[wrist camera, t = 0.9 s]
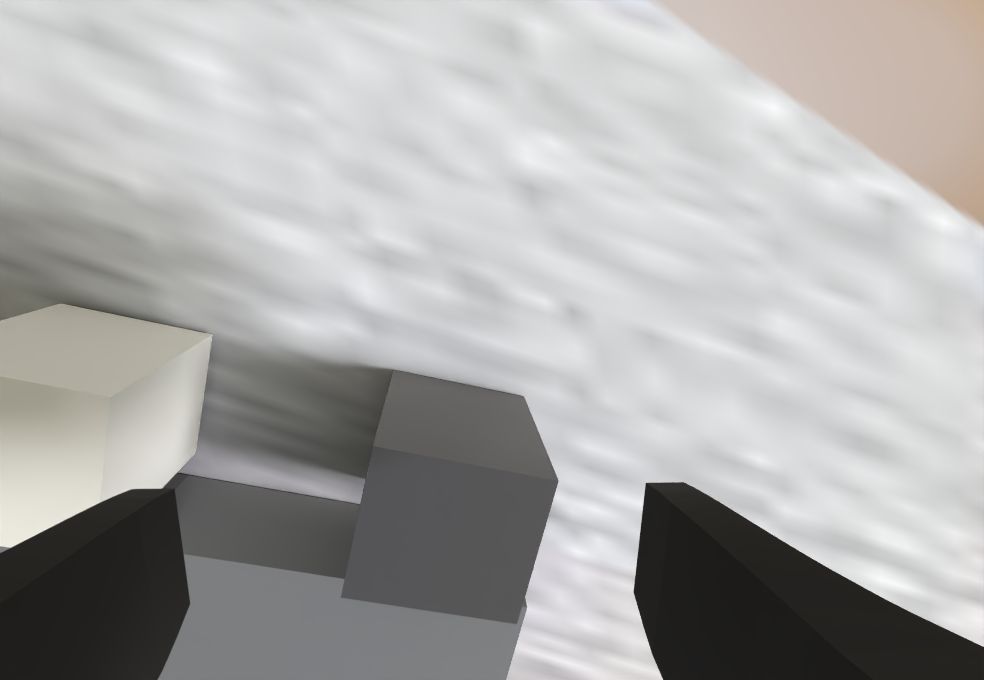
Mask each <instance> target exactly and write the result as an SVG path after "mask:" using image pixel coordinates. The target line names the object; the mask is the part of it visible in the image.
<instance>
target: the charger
mask: <svg viewBox="0 0 984 680" xmlns="http://www.w3.org/2000/svg"><path fill="white" fill-rule="evenodd" d="M212 336H213V335H212V334H207V333H202V332H197V331H192V330H187V329H183V328H178V327H173V326H168V325H163V324H158V323H153V322H148V321H144V320H139V319H134V318H129V317H124V316H119V315H114V314H109V313H105V312H100V311H95V310H90V309H85V308H80V307H75V306H70V305H66V304H61V303H60V304H57V305H53V306H50V307H46V308H43V309H39V310H36V311H32V312H29V313H25V314H22V315H18V316H15V317H11V318H8V319H4V320H0V546H2V547H9V548H11V547H13V546H15V545H17V544H19V543H21V542H23V541H25V540H27V539H29V538H31V537H33V536H35V535H37V534H39V533H41V532H43V531H44V530H46V529H48V528H50V527H52V526H54V525H56V524H58V523H60V522H62V521H64V520H66V519H68V518H70V517H72V516H74V515H76V514H78V513H80V512H82V511H84V510H86V509H88V508H90V507H92V506H94V505H96V504H98V503H100V502H102V501H105V500H107V499H109V498H111V497H113V496H116V495H118V494H121V493H123V492H126V491H128V490H131V489H162V488H163V487H164V486H165V485H166V484H167V483H168V482H169V480H170V479H171V478H172V477H173V476H174V475H175V474H176V473H177V472H178V471H179V470H180V469H181V468H182V467H183V466H184V465H185V464H186V463H187V462H188V460H189V459H190V458H191V457H192V456H193V455H194V454H195V453H196V449H197V442H198V435H199V428H200V421H201V414H202V407H203V400H204V393H205V386H206V379H207V372H208V365H209V358H210V351H211V343H212Z"/></svg>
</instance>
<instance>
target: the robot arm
mask: <svg viewBox="0 0 984 680" xmlns="http://www.w3.org/2000/svg"><path fill="white" fill-rule="evenodd" d="M634 595H635V598H636V602H637V605H638V609H639V612H640V616H641V619H642V623H643V626H644V629H645V633H646V636H647V639H648V642H649V645H650V648H651V652H652V654H653V657H654V659H655V662H656V664H657V666H658V669H659V671H660V673H661V676H662V678H663V680H984V647H983V646H980V645H978V644H976V643H974V642H972V641H970V640H968V639H965V638H963V637H961V636H959V635H957V634H955V633H953V632H951V631H949V630H947V629H944V628H942V627H940V626H938V625H936V624H934V623H932V622H930V621H928V620H926V619H923V618H921V617H919V616H917V615H915V614H913V613H911V612H909V611H907V610H905V609H903V608H901V607H899V606H897V605H895V604H893V603H891V602H889V601H887V600H885V599H884V598H882V597H880V596H878V595H876V594H874V593H872V592H871V591H869V590H867V589H865V588H863V587H862V586H860V585H858V584H856V583H854V582H852V581H851V580H849V579H847V578H845V577H843V576H841V575H840V574H838V573H836V572H834V571H832V570H831V569H829V568H827V567H825V566H824V565H822V564H820V563H819V562H817V561H815V560H813V559H812V558H810V557H808V556H806V555H805V554H803V553H801V552H800V551H798V550H796V549H795V548H793V547H791V546H790V545H788V544H786V543H785V542H783V541H781V540H780V539H778V538H777V537H775V536H773V535H772V534H770V533H768V532H767V531H765V530H764V529H762V528H760V527H759V526H757V525H755V524H754V523H752V522H751V521H749V520H747V519H746V518H744V517H743V516H741V515H739V514H738V513H736V512H734V511H733V510H731V509H730V508H728V507H726V506H725V505H723V504H721V503H720V502H718V501H716V500H715V499H713V498H711V497H710V496H708V495H706V494H705V493H703V492H701V491H699V490H698V489H696V488H694V487H692V486H690V485H688V484H686V483H684V482H679V483H646V487H645V496H644V505H643V514H642V523H641V532H640V540H639V549H638V558H637V567H636V576H635V585H634ZM189 606H190V597H189V590H188V583H187V575H186V568H185V561H184V553H183V546H182V539H181V531H180V524H179V517H178V509H177V502H176V495H175V488H169V489H131V490H128V491H126V492H123V493H121V494H118V495H116V496H113V497H111V498H109V499H107V500H105V501H102V502H100V503H98V504H96V505H94V506H92V507H90V508H88V509H86V510H84V511H82V512H80V513H78V514H76V515H74V516H72V517H70V518H68V519H66V520H64V521H62V522H60V523H58V524H56V525H54V526H52V527H50V528H48V529H46V530H44V531H43V532H41V533H39V534H37V535H35V536H33V537H31V538H29V539H27V540H25V541H23V542H21V543H19V544H17V545H15V546H13V547H11V548H9V549H7V550H5V551H3V552H1V553H0V680H158V678H159V676H160V674H161V673H162V671H163V669H164V666H165V664H166V662H167V659H168V657H169V655H170V652H171V650H172V648H173V646H174V643H175V641H176V639H177V636H178V634H179V631H180V629H181V626H182V623H183V621H184V618H185V616H186V613H187V611H188V608H189Z"/></svg>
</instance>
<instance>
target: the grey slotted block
mask: <svg viewBox="0 0 984 680" xmlns="http://www.w3.org/2000/svg"><path fill="white" fill-rule="evenodd" d="M557 484H558V478H557V476H556V474H555V471H554V469H553V466H552V464H551V461H550V459H549V456H548V454H547V452H546V449H545V447H544V444H543V442H542V439H541V437H540V434H539V432H538V430H537V427H536V425H535V422H534V420H533V417H532V415H531V413H530V410H529V408H528V405H527V403H526V400H525V398H524V397H523V396H518V395H514V394H509V393H504V392H499V391H494V390H489V389H484V388H480V387H475V386H470V385H465V384H460V383H455V382H450V381H445V380H441V379H436V378H431V377H426V376H421V375H416V374H411V373H406V372H402V371H397V370H393V373H392V377H391V381H390V384H389V388H388V392H387V395H386V399H385V403H384V406H383V410H382V414H381V417H380V421H379V425H378V428H377V432H376V436H375V439H374V443H373V447H372V452H371V456H370V461H369V466H368V471H367V475H366V480H365V485H364V489H363V494H362V499H361V504H360V505H358V504H352V503H347V502H341V501H335V500H329V499H323V498H318V497H312V496H306V495H300V494H294V493H289V492H283V491H277V490H271V489H266V488H260V487H254V486H248V485H242V484H237V483H231V482H225V481H219V480H214V479H208V478H202V477H196V476H190V475H185V474H179V473H176V474H175V475H174V476H173V477H172V478H171V479H170V480H169V482H168V483H167V484H166V485H165V486H164V487H163V488H162V489H169V488H175V495H176V502H177V509H178V517H179V524H180V531H181V539H182V546H183V553H184V561H185V568H186V575H187V583H188V590H189V597H190V606H189V608H188V611H187V613H186V616H185V618H184V621H183V623H182V626H181V629H180V631H179V634H178V636H177V639H176V641H175V643H174V646H173V648H172V650H171V652H170V655H169V657H168V659H167V662H166V664H165V666H164V669H163V671H162V673H161V674H160V676H159V678H158V680H506V678H507V674H508V671H509V668H510V664H511V661H512V657H513V654H514V650H515V647H516V644H517V640H518V637H519V633H520V630H521V626H522V623H523V620H524V616H525V613H526V609H527V605H526V600H525V595H526V591H527V588H528V584H529V581H530V578H531V574H532V571H533V567H534V564H535V560H536V557H537V553H538V550H539V546H540V543H541V540H542V536H543V533H544V529H545V526H546V522H547V519H548V515H549V512H550V508H551V505H552V501H553V498H554V495H555V491H556V488H557ZM7 549H9V547H2V546H0V553H1V552H3V551H5V550H7Z"/></svg>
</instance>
